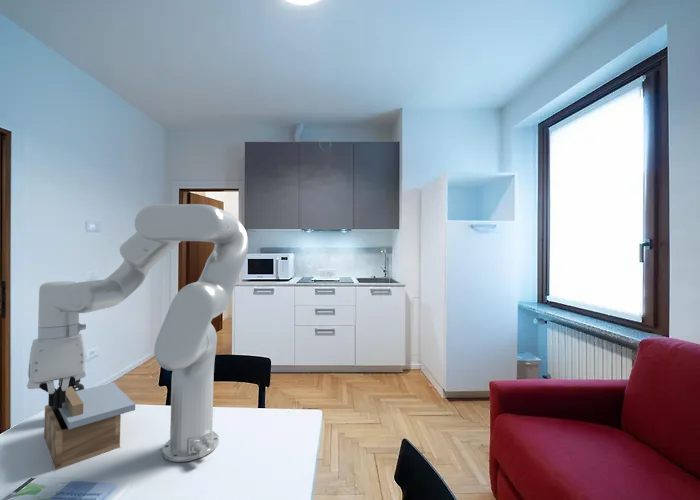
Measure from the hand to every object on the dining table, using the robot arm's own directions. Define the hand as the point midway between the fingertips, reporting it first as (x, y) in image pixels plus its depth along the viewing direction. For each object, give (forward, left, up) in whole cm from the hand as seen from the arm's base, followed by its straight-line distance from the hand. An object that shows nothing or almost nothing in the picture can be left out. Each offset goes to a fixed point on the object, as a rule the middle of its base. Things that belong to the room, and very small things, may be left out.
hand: (56, 407), depth 81 cm
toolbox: (0, -5, -10) cm, 11 cm away
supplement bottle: (+18, -5, -11) cm, 21 cm away
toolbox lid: (0, -7, -2) cm, 8 cm away
